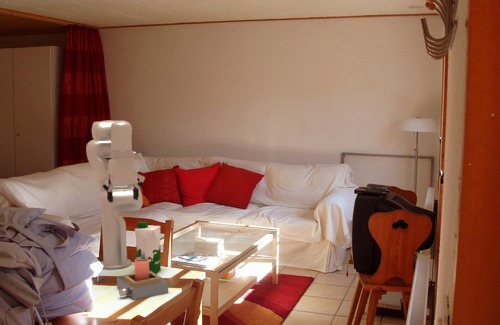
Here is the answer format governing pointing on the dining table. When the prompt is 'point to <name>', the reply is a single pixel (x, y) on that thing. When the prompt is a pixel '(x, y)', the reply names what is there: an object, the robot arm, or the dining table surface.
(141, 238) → the milk carton
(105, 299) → the dining table surface
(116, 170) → the robot arm
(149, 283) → the grey square socket base
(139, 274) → the oil can
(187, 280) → the dining table surface
